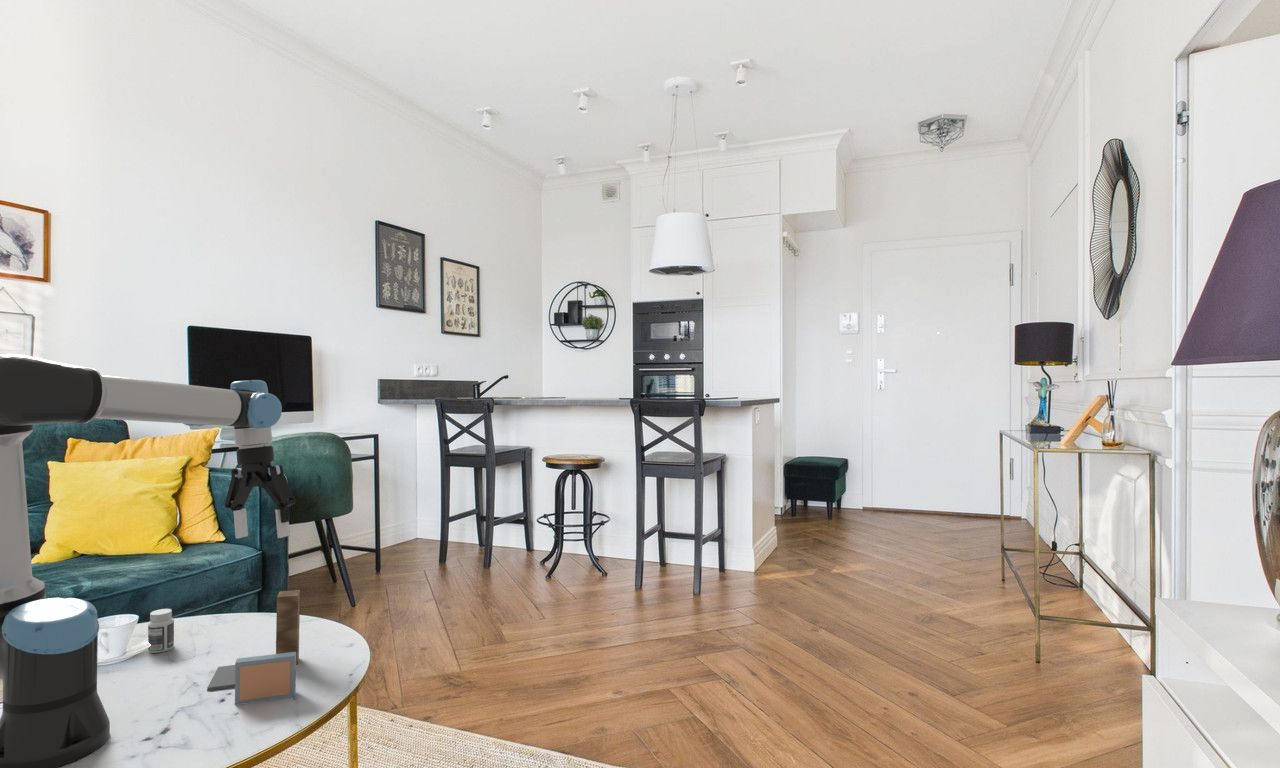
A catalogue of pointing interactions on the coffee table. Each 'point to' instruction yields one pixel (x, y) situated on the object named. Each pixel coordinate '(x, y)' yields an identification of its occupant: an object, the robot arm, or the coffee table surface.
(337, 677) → the coffee table surface
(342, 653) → the coffee table surface
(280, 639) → the tall wooden pillar
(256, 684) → the tile
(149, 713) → the coffee table surface
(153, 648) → the pill bottle
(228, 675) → the plate
